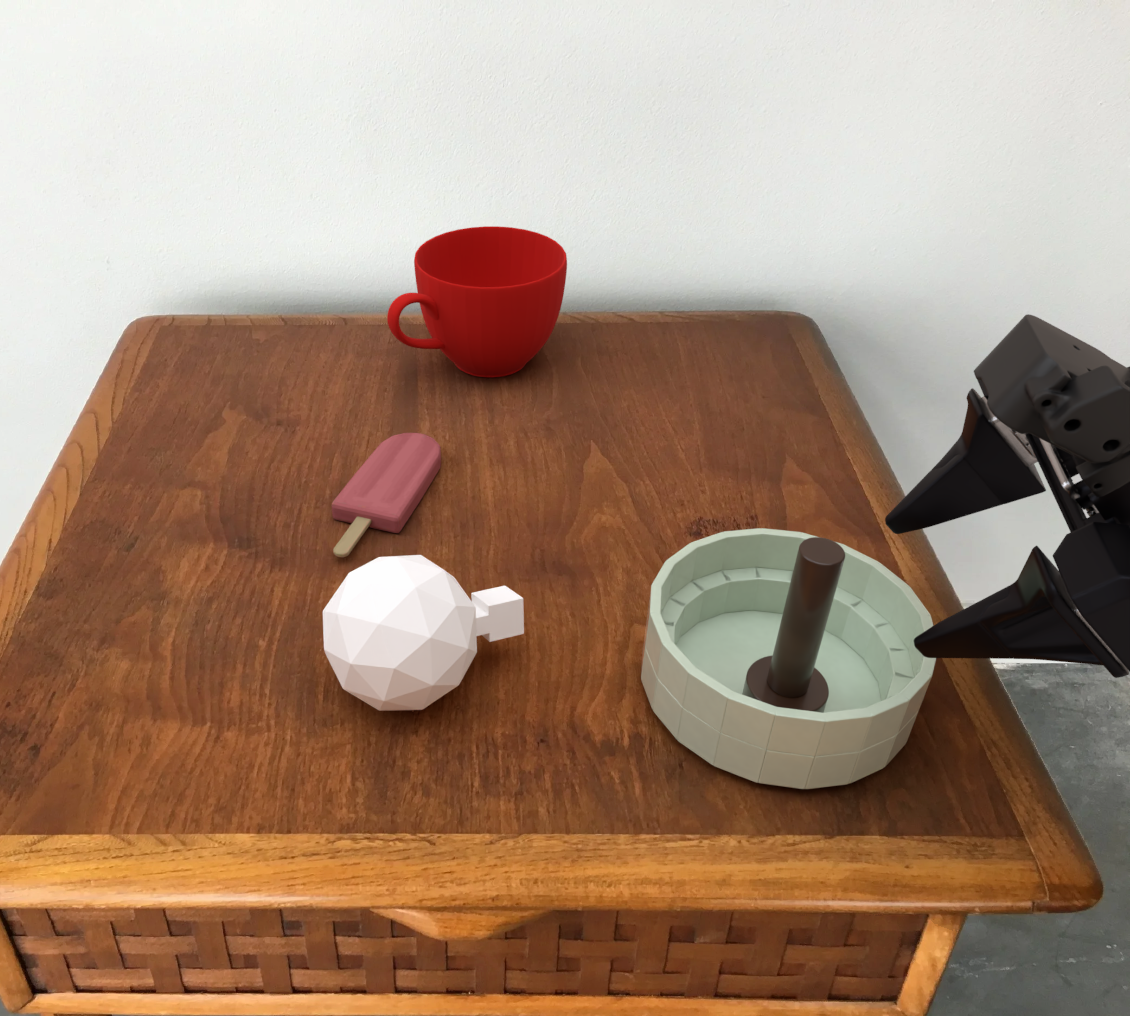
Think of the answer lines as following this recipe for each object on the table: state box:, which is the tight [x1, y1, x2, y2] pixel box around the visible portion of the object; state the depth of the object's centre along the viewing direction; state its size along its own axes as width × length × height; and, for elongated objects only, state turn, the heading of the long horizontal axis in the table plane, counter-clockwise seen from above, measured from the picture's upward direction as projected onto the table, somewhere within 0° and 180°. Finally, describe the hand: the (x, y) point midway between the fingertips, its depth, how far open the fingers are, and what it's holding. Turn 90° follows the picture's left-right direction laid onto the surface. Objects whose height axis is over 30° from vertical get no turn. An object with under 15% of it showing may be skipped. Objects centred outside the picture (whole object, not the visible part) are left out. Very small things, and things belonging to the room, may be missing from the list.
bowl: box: [640, 527, 937, 790], centre depth 58 cm, size 15×15×6 cm
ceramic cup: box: [386, 225, 568, 378], centre depth 88 cm, size 13×17×10 cm
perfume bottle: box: [322, 554, 525, 712], centre depth 58 cm, size 9×9×12 cm
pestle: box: [742, 536, 845, 713], centre depth 54 cm, size 4×4×12 cm
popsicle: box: [331, 432, 442, 558], centre depth 74 cm, size 5×2×15 cm
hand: (902, 583), depth 50 cm, fingers open, 9 cm apart
